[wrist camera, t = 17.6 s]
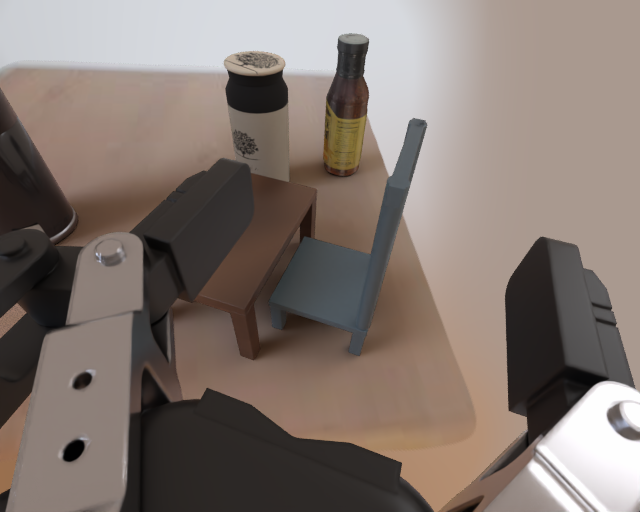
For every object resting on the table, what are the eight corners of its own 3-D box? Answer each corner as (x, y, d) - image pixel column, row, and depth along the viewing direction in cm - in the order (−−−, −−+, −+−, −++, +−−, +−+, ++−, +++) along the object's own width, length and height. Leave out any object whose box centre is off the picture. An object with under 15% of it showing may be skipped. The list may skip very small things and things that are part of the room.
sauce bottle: (329, 155, 63) (339, 26, 48) (363, 163, 62) (383, 33, 47) (316, 173, 59) (323, 39, 44) (352, 183, 57) (370, 47, 43)
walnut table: (144, 321, 38) (112, 266, 31) (227, 219, 50) (217, 164, 43) (254, 360, 35) (244, 309, 29) (314, 243, 47) (316, 188, 41)
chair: (270, 327, 38) (253, 154, 23) (303, 263, 44) (307, 96, 29) (361, 357, 36) (408, 191, 21) (381, 286, 42) (428, 120, 27)
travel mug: (268, 164, 60) (260, 46, 47) (299, 185, 56) (300, 63, 43) (229, 181, 56) (208, 58, 43) (259, 205, 52) (247, 77, 39)
